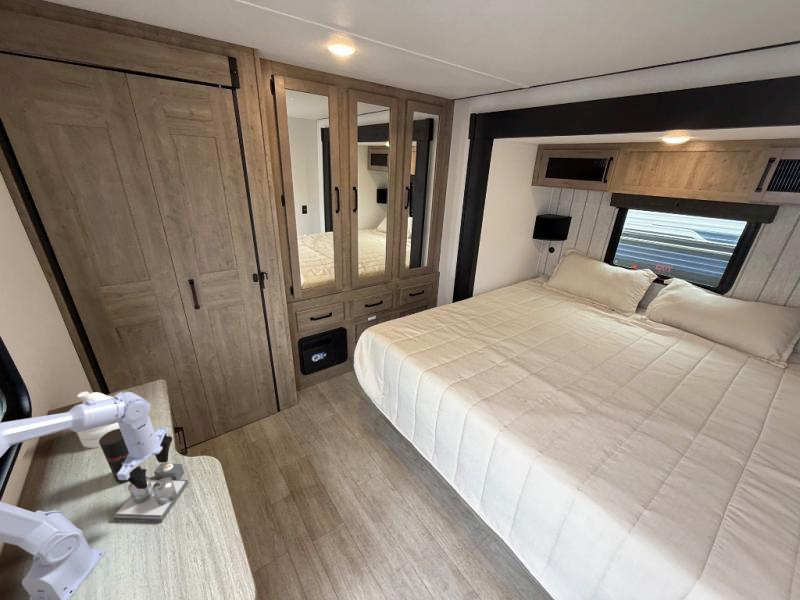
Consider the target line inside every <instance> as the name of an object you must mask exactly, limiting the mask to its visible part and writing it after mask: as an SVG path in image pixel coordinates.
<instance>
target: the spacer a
mask: <svg viewBox="0 0 800 600" xmlns="http://www.w3.org/2000/svg"><path fill="white" fill-rule="evenodd" d="M149 479H150V477H148V476H147V475H146V481H147V487H146V489H137V488H136V487H135V486H134V485H133V484H132V483H130V482H129V485H128V487H127V489H128V491H129V494H130V496H131V497H132V499H133V502H134V503H135V504H141V503H143V502H146V501H147V500H148V499H150V498H151V497H152V495H153V490H152V485H151V483H150V480H149Z"/></svg>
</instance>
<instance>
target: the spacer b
mask: <svg viewBox="0 0 800 600" xmlns="http://www.w3.org/2000/svg"><path fill="white" fill-rule="evenodd" d="M152 490H153V493H154V495H155V498H156V501H157V503H158V504H159V505H164V504H167V503H169V502H171V501H172V500H173V499H174V498H175V496H176V494H177V492H176V489H175V486H174V483H173V480H172V478H170V477H165V478H162V479H160V480H158V481H157V482H156V483H155V484H154V485H153V488H152Z"/></svg>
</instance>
